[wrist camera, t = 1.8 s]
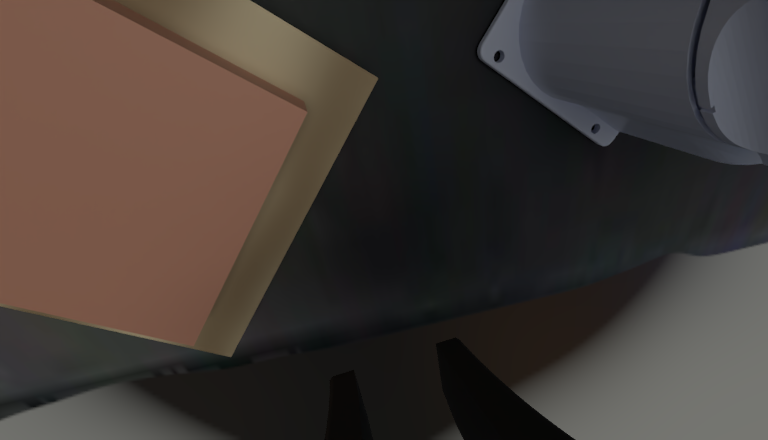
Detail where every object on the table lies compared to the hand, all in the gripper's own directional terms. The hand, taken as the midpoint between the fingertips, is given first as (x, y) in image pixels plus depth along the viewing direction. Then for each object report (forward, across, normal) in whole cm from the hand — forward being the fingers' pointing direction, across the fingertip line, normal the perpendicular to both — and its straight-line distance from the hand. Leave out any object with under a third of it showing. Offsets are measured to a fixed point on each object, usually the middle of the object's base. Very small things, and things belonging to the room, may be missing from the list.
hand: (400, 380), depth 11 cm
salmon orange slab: (+7, +7, -6) cm, 11 cm away
